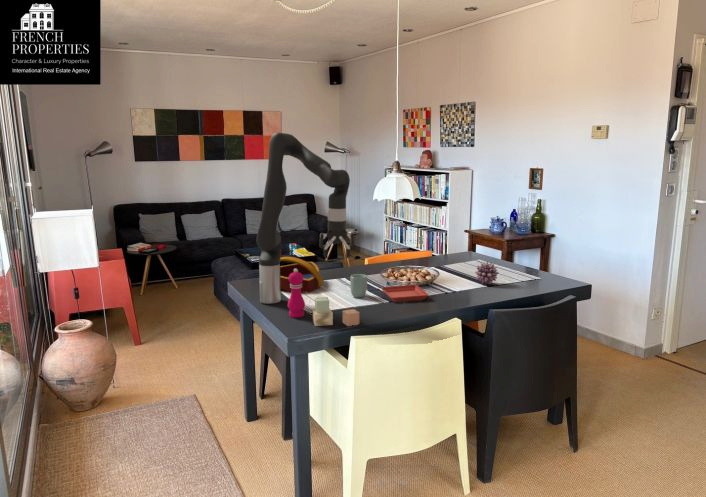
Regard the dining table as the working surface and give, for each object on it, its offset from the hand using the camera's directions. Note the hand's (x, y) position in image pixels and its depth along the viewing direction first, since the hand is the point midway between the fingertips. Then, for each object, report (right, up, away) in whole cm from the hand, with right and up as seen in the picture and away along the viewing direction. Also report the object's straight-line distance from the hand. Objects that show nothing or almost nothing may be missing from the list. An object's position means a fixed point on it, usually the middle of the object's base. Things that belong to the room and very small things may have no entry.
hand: (336, 258), depth 221 cm
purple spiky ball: (+75, -15, +53) cm, 93 cm away
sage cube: (-6, -21, -8) cm, 23 cm away
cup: (+9, -19, +30) cm, 37 cm away
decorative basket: (-23, -15, +52) cm, 58 cm away
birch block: (-5, -26, -7) cm, 27 cm away
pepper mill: (-17, -24, +2) cm, 29 cm away
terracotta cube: (+6, -26, -8) cm, 28 cm away
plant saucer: (+31, -19, +30) cm, 47 cm away
